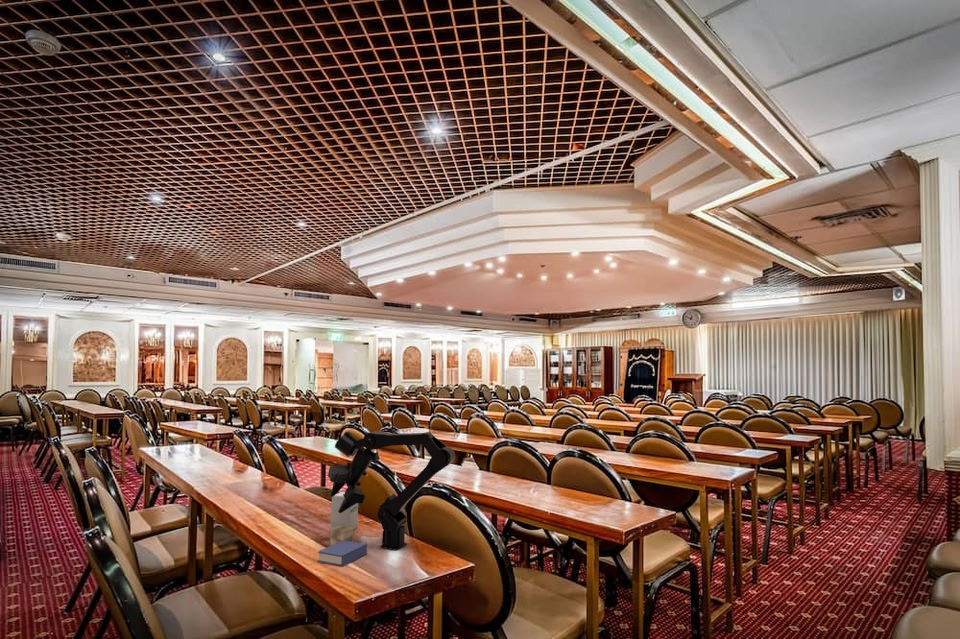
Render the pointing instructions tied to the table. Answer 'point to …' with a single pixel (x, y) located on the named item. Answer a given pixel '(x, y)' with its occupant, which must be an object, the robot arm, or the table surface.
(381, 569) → the table surface
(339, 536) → the beech block
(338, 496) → the supplement box
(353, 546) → the navy book
